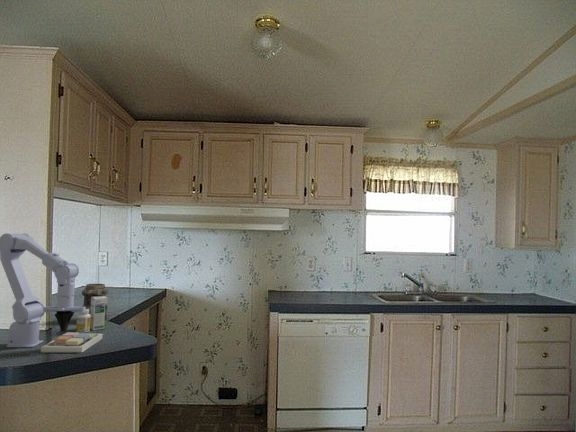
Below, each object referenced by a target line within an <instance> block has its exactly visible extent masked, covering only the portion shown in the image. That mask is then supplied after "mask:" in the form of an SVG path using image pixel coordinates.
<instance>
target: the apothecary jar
mask: <svg viewBox="0 0 576 432" xmlns="http://www.w3.org/2000/svg"><path fill="white" fill-rule="evenodd" d="M108 293H109V290H108V289H107V288H106V284H105V283H87V284H86V285H85V288H84V289H82V291H81V295H82V296H83V298H84V299H83V305H82V306H81V307H86V309H89V313H88V314H90V313H91V297H98V296H107V295H108Z"/></svg>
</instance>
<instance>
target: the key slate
mask: <svg viewBox="0 0 576 432" xmlns="http://www.w3.org/2000/svg"><path fill="white" fill-rule="evenodd" d="M90 334H91V333H90ZM90 334H78V335H76V336H74V337H73V338H83V341H85V340H87V339H89V338H90Z"/></svg>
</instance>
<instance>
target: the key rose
mask: <svg viewBox="0 0 576 432" xmlns="http://www.w3.org/2000/svg"><path fill="white" fill-rule="evenodd" d="M78 334H79V332H76V331H75V332H71V331H70V332H69V331H67V332H65V333H63V334H61V336H72V338H73V337H74V336H76V335H78Z"/></svg>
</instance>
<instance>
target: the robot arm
mask: <svg viewBox="0 0 576 432" xmlns="http://www.w3.org/2000/svg"><path fill="white" fill-rule="evenodd" d="M26 251H27V252H29V253H31V254H32V255H34V256H35V257H37V258H39V259H40V260H41V264H42V265H43V266H44V267H46V268H48V269H49V270H50V271H51V272H53V274H54V277H55V278H56V283H57V293H56V305H50V306H49V305H46V306H45V305H44V304H43V303H42V302H41V301H40V298H38V296H36V295H34V294H33V292H32V290H31V287H30V285H29V283H28V280H27V277H26V276H25V275H26V274H25V272H24V271H23V268H22V264H21V262H20V257H21V256H22V255H23V254H24V253H25V252H26ZM0 262H1V265H2V269H4V273H5V275H6V278H7V281H8V283H9V285H10V288H11V291H12V293H13V296H14V298H15V302H14V303H13V304H12V305H11V309H12V316H13V319H14V321H13V322H12V323H11V324H10V326H9V329H8V339H7V345H6V348H33V347H36V346H38V345H40V344H41V343H44V340H43V339H42V340H40V339H39V338H40V325H41V323H40V322H41V320H42V317H43V316H44V315H45V313H54V317H55V318H56V321H57V322H58V325H59V328H60V329H59V330H60V332H63V333H64V332H65V333H66V331H67V332H68V327H69V324H70V321H71V320H72V317H73V316H74V315H75V313H79V312H81V313H83V312H85V310H86V307H82V306H79V305H74V304H75V288H76V286H75V285H76V278H77V276H78V275H79V272H80V270H79V267H78V266H77V265H76V263H70V262H69V261H68V260H65V259H64V258H62V257H61V256H60V254H59V253H57V252H49V251H48V250H46V249H45V248H44V247H42V246H41V245H40V244H39V243H38V242H36V241H35V240H34V238H33V237H32V236H30V235H29V234H28V233H4V234H2V235H1V236H0Z"/></svg>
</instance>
